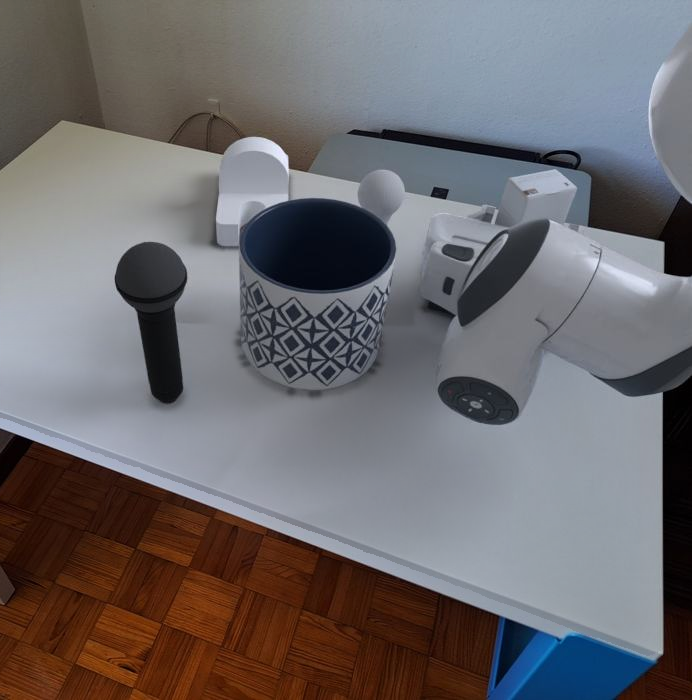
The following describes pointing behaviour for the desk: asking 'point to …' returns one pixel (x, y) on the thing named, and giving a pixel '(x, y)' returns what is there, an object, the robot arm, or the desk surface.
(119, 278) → the microphone
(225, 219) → the white u-slot block
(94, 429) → the desk surface
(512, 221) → the cosmetic box
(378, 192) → the light bulb
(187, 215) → the desk surface
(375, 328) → the planter
